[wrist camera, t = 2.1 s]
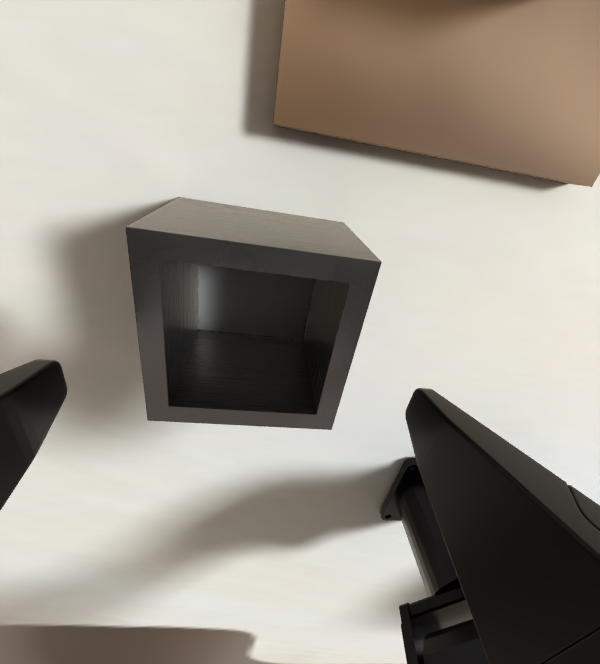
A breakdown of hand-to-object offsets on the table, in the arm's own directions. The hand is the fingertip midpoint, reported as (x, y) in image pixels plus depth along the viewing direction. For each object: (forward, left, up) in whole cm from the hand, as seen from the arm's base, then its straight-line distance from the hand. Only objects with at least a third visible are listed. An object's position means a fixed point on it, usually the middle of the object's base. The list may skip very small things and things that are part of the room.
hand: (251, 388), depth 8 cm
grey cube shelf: (0, 0, -7) cm, 7 cm away
